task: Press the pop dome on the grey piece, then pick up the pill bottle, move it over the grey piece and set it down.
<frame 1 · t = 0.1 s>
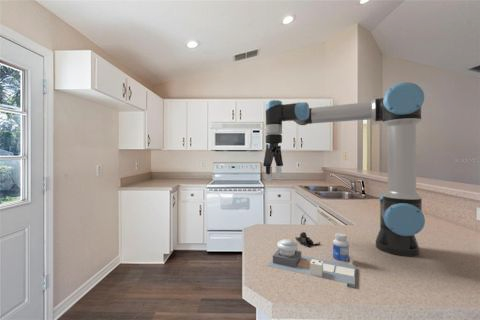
hand: (273, 180, 109), 28 cm above the countertop, fingers open, 13 cm apart
grey piece: (311, 268, 80), on the countertop
pill bottle: (340, 261, 87), on the countertop
stuffed animal: (302, 246, 103), on the countertop
pop dome: (287, 248, 85), point 5 cm above the countertop, slide at 0.0 cm, touching grey piece
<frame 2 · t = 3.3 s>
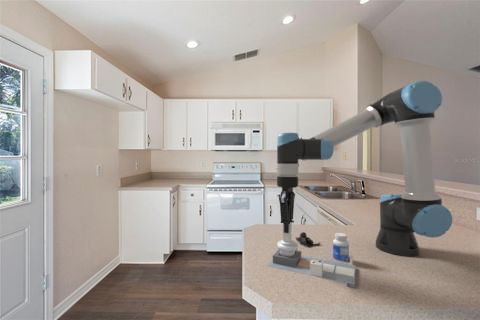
hand: (287, 240, 85), 8 cm above the countertop, fingers closed
pop dome: (287, 248, 85), point 5 cm above the countertop, slide at 0.0 cm, touching grey piece, gripper
everything else where it was.
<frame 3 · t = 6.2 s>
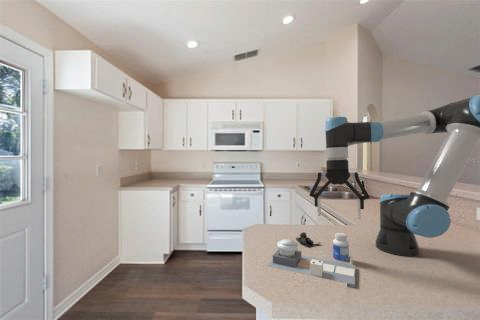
hand: (338, 216, 86), 16 cm above the countertop, fingers open, 13 cm apart
pop dome: (287, 248, 85), point 5 cm above the countertop, slide at 0.0 cm, touching grey piece
everything else where it was.
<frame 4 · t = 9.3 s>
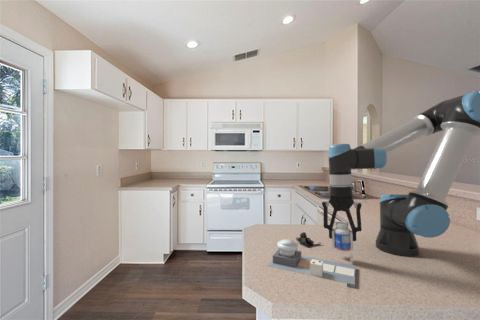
hand: (342, 248, 87), 5 cm above the countertop, fingers closed on pill bottle, 5 cm apart
pill bottle: (342, 249, 87), point 4 cm above the countertop, touching gripper
everything else where it was.
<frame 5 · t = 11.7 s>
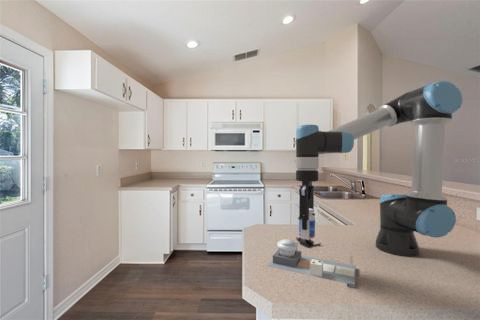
hand: (306, 236, 81), 11 cm above the countertop, fingers closed on pill bottle, 5 cm apart
pill bottle: (306, 237, 81), point 10 cm above the countertop, touching gripper
everything else where it was.
when the fingers open (2 cm above the countertop, at t = 13.4 s): pill bottle stays where it is, resting on grey piece.
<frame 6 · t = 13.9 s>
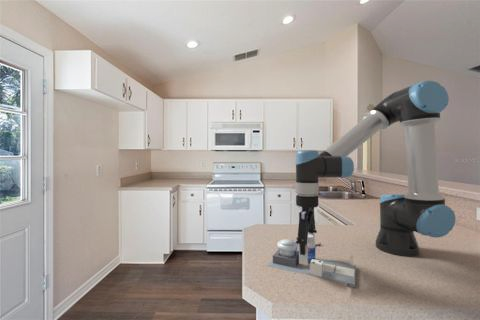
hand: (307, 256, 81), 4 cm above the countertop, fingers open, 12 cm apart
pill bottle: (307, 264, 81), point 1 cm above the countertop, touching grey piece
everything else where it was.
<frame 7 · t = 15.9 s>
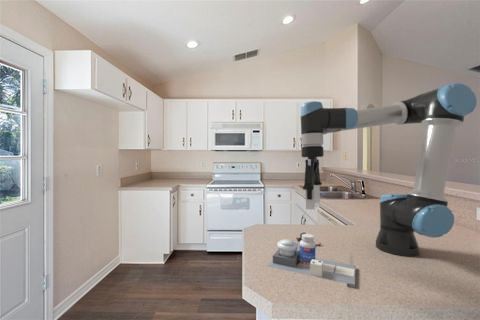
hand: (313, 205, 84), 21 cm above the countertop, fingers open, 13 cm apart
nothing on the countertop moved.
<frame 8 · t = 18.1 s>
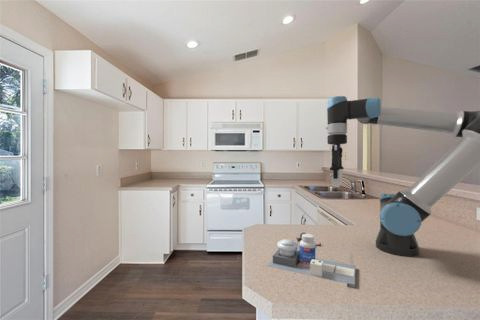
hand: (337, 185, 97), 27 cm above the countertop, fingers open, 13 cm apart
nothing on the countertop moved.
at the end: pill bottle 0.0 cm from the target spot, point 1.0 cm above the countertop; pill bottle tilted 0°; the gripper is holding nothing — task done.
